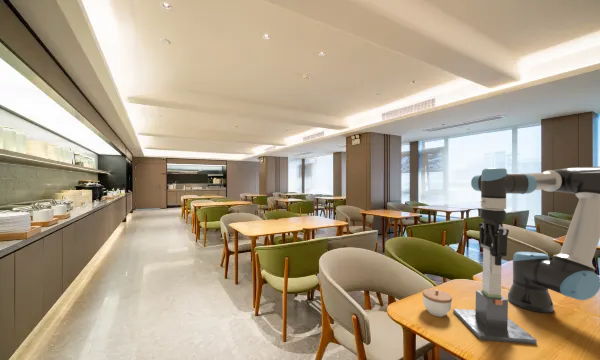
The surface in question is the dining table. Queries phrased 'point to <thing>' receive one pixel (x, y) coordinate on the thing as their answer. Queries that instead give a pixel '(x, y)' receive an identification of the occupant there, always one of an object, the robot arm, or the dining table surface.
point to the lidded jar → (437, 302)
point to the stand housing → (493, 321)
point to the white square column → (490, 274)
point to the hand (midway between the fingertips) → (491, 270)
